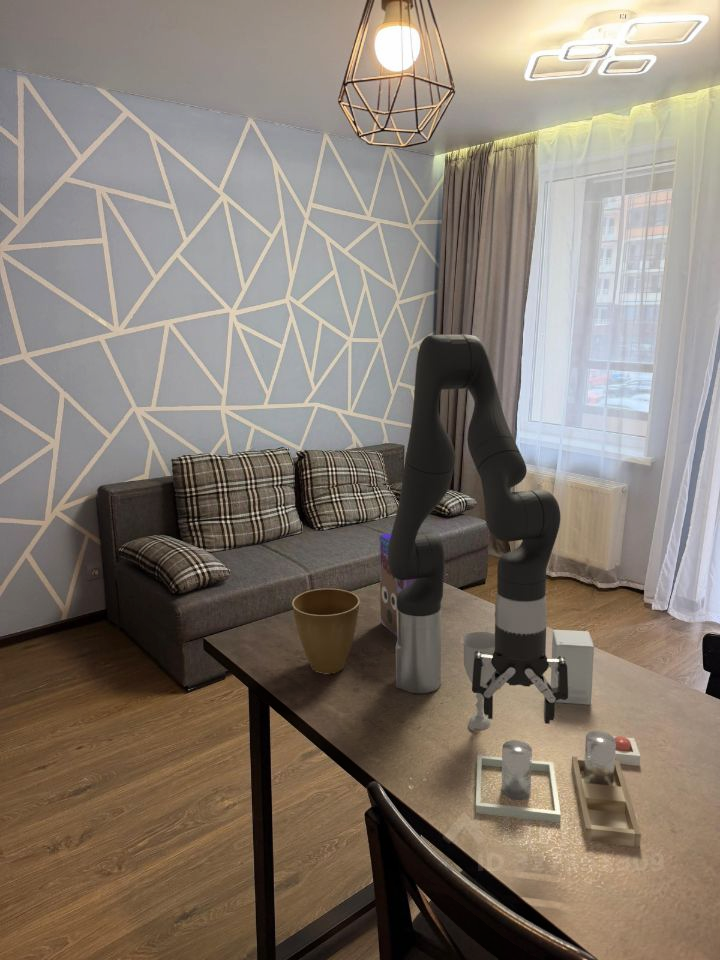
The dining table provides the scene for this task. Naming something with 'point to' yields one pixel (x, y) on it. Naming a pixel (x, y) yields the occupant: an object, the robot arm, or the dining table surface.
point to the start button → (622, 744)
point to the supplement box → (574, 664)
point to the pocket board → (606, 808)
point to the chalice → (487, 647)
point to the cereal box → (389, 587)
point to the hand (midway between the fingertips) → (518, 718)
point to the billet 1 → (516, 769)
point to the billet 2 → (599, 758)
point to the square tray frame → (512, 810)
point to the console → (629, 754)
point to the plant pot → (326, 626)
